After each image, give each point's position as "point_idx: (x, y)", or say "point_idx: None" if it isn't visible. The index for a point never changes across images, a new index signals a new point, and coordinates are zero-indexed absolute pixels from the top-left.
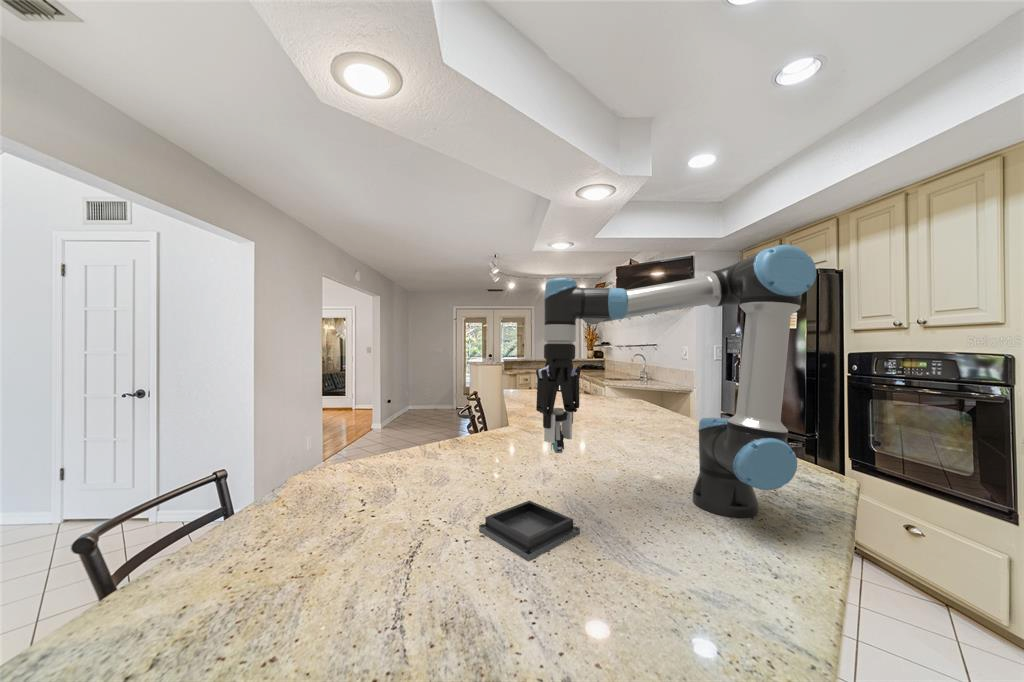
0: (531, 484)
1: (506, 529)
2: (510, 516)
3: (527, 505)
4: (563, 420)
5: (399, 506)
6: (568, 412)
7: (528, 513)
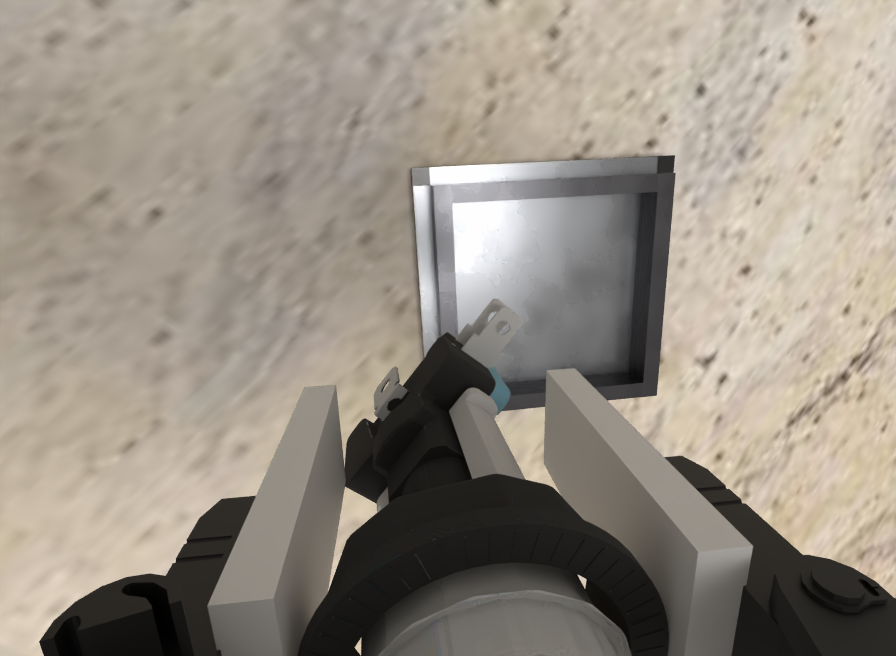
0: None
1: (664, 286)
2: None
3: None
4: (481, 478)
5: None
6: (278, 630)
7: None
